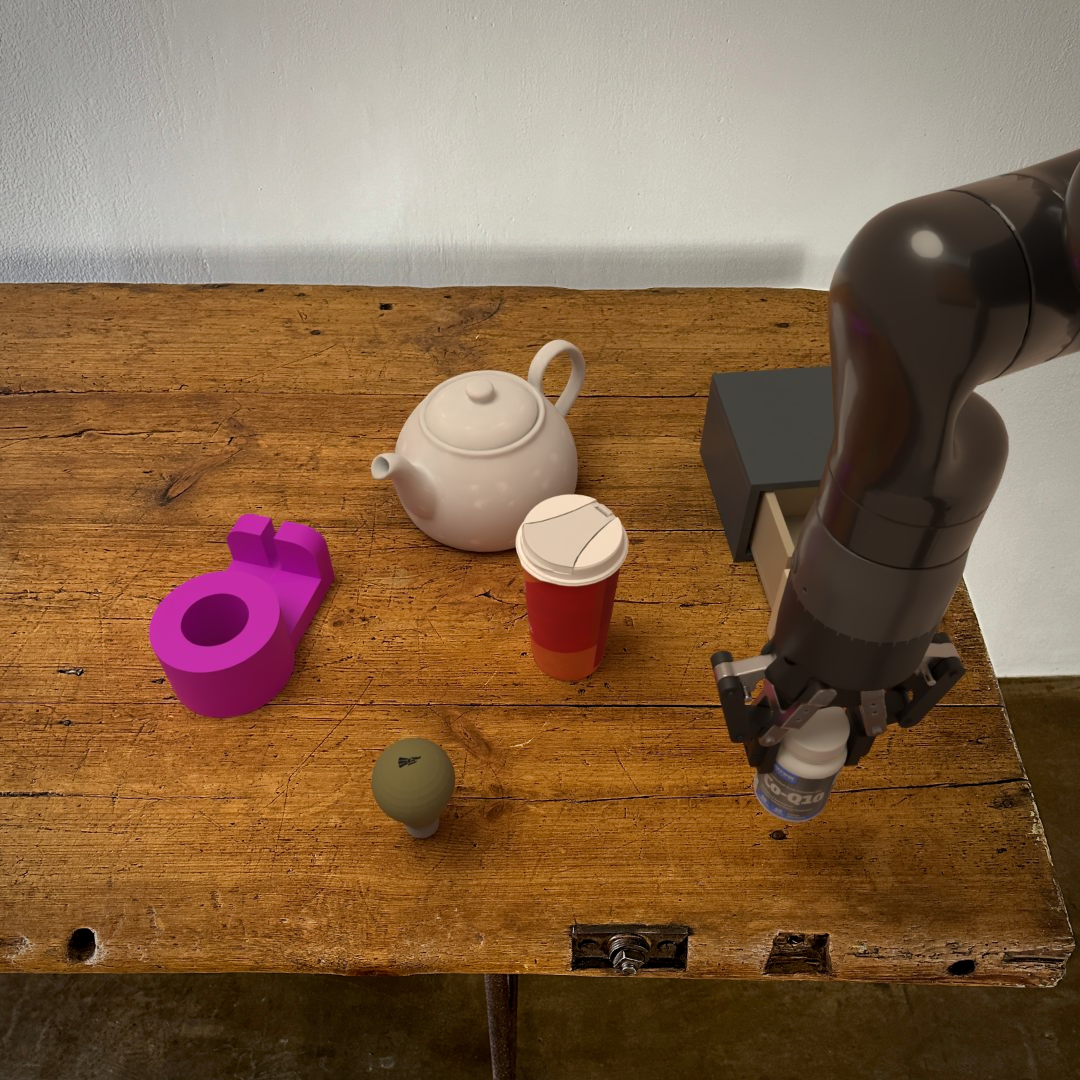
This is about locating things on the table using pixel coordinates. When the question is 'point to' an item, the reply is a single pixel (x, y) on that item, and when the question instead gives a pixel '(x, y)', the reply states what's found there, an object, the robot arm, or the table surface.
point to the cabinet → (764, 440)
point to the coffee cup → (570, 581)
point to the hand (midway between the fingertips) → (803, 756)
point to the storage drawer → (777, 539)
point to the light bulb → (414, 784)
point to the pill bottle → (805, 767)
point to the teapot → (485, 453)
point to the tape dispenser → (242, 618)
